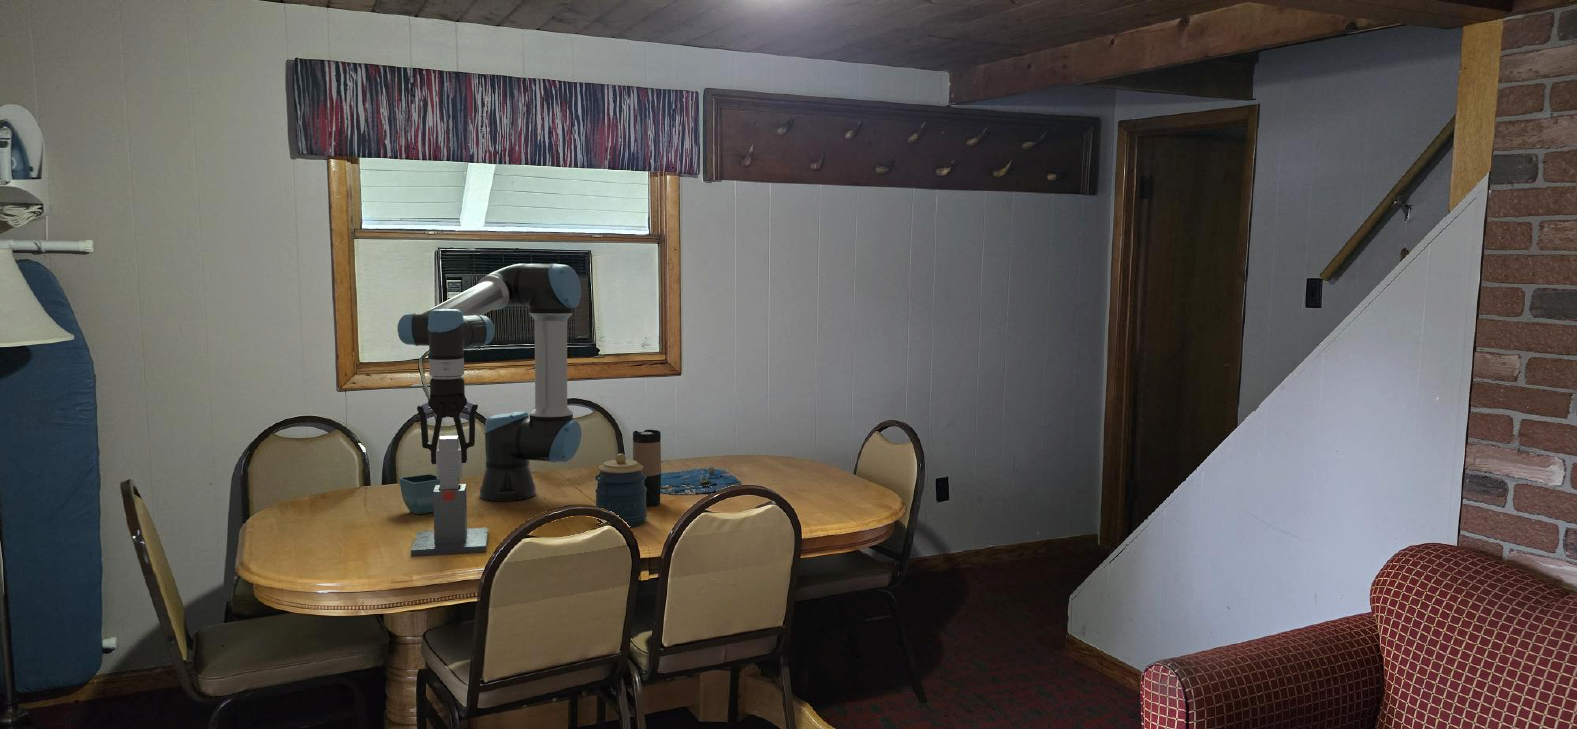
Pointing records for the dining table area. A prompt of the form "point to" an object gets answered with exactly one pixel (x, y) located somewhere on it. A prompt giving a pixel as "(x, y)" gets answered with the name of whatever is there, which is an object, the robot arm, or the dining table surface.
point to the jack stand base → (450, 527)
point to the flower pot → (419, 492)
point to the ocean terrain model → (697, 480)
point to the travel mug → (649, 462)
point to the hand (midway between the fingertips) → (449, 477)
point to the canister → (622, 490)
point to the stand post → (448, 463)
